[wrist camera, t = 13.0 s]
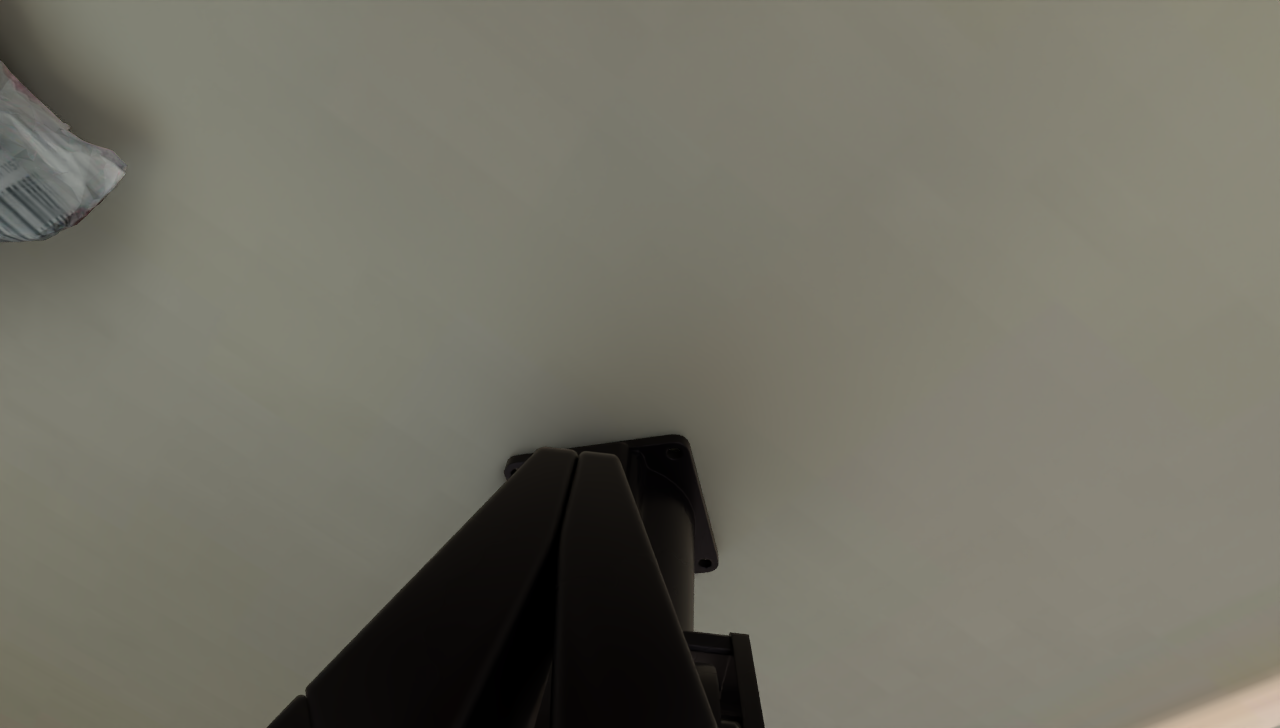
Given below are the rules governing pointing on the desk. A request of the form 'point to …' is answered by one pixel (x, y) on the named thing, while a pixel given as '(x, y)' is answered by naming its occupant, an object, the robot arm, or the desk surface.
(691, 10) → the desk surface
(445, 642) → the robot arm
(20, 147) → the packaged food
